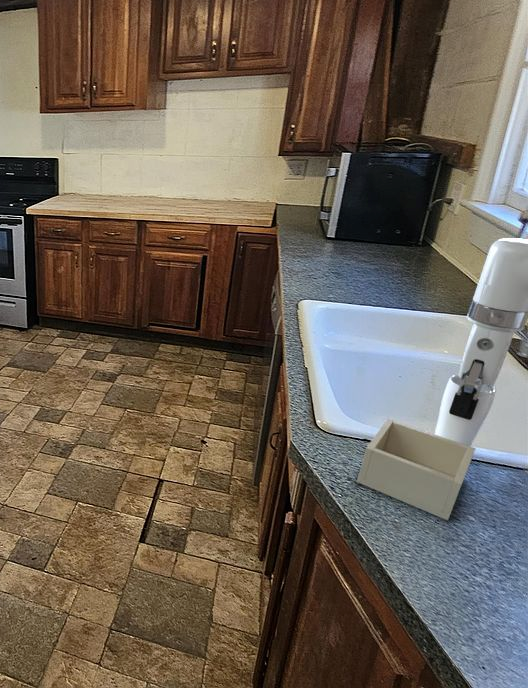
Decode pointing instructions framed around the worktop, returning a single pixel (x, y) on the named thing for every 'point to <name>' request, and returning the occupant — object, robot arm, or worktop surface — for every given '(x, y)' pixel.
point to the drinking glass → (458, 426)
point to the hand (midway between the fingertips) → (464, 407)
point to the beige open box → (416, 467)
